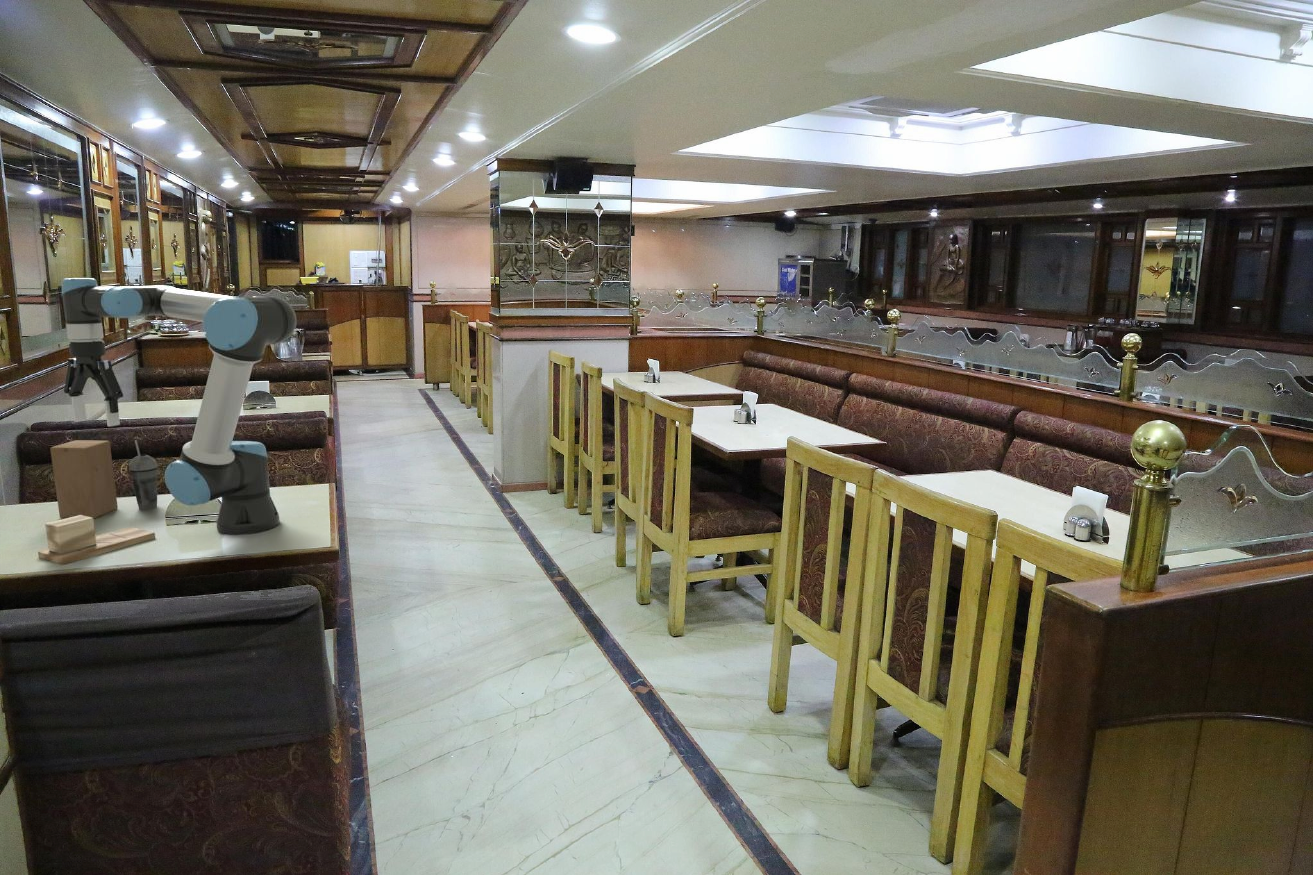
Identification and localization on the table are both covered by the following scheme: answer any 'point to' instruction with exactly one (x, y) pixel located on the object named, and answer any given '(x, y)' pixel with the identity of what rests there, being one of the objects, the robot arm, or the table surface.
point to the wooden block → (84, 478)
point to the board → (102, 545)
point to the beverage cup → (144, 480)
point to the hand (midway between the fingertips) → (97, 423)
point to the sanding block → (70, 534)
